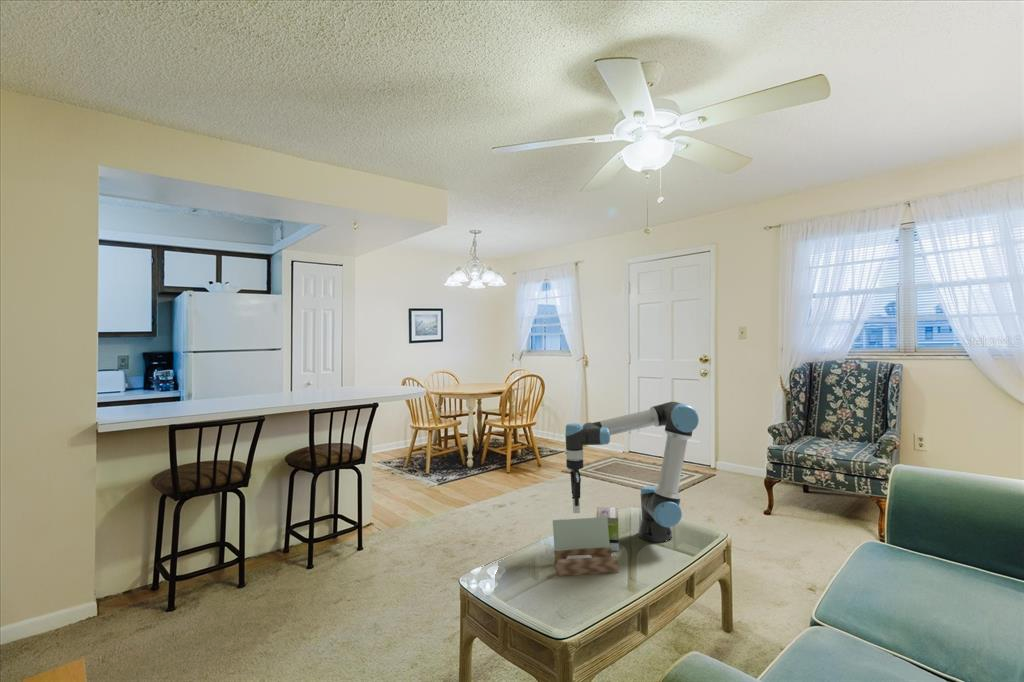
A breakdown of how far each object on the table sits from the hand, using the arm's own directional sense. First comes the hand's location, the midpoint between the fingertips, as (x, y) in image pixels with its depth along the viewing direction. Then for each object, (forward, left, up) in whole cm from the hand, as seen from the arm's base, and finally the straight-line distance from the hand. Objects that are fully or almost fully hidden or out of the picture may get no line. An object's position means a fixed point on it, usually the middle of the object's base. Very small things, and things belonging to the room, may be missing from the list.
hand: (576, 512), depth 211 cm
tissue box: (0, +15, -18) cm, 23 cm away
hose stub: (+2, +12, -16) cm, 19 cm away
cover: (0, +8, -6) cm, 10 cm away
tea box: (-15, -7, -18) cm, 25 cm away
